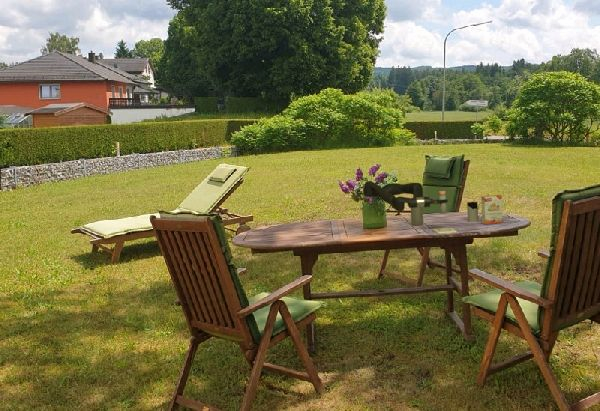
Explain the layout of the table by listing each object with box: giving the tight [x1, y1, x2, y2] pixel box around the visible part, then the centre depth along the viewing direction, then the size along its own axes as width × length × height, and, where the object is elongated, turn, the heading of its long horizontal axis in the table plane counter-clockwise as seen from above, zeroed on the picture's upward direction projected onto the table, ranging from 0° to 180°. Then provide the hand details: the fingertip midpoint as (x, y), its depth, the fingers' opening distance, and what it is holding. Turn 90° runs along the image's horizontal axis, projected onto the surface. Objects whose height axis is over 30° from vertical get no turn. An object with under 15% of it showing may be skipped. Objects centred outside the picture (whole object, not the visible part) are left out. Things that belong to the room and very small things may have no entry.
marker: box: [438, 190, 447, 215], centre depth 422 cm, size 5×5×16 cm
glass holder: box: [466, 201, 482, 223], centre depth 460 cm, size 9×14×15 cm, turn 104°
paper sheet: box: [432, 227, 457, 234], centre depth 424 cm, size 16×13×1 cm
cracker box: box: [480, 194, 503, 225], centre depth 443 cm, size 14×6×21 cm, turn 101°
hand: (446, 200), depth 422 cm, fingers closed on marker, 4 cm apart
